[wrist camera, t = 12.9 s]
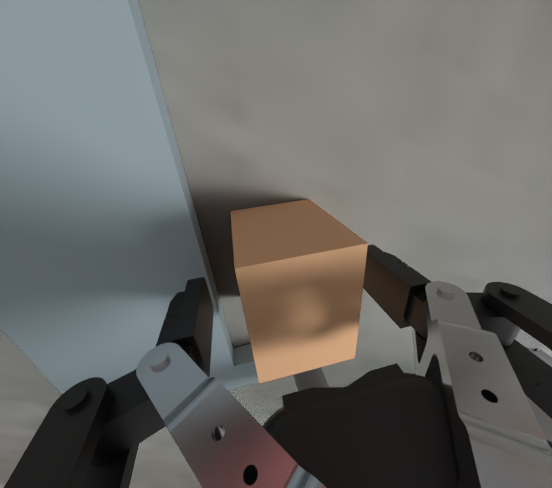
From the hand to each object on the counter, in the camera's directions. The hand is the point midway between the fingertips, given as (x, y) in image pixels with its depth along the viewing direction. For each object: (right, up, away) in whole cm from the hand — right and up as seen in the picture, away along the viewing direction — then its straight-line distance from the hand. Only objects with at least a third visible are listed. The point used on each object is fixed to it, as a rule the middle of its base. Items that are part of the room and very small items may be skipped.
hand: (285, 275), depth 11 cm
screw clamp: (-4, +2, +1) cm, 5 cm away
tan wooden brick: (-1, +1, +2) cm, 3 cm away
